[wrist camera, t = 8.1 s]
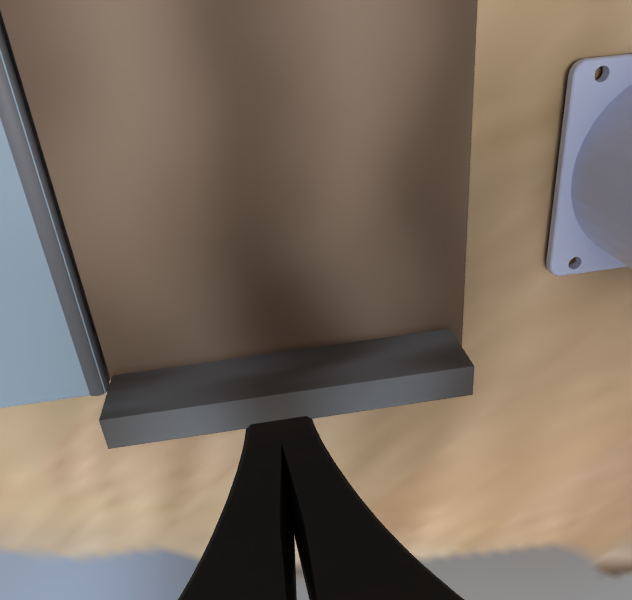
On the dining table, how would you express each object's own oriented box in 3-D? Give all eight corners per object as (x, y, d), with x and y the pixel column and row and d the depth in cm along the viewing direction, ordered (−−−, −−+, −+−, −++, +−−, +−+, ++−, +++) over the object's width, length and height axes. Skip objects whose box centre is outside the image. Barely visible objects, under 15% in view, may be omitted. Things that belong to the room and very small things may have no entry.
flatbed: (464, -349, 15) (549, -471, 11) (444, 327, 24) (486, 392, 20) (-70, -325, 14) (-189, -450, 10) (125, 371, 23) (105, 449, 19)
